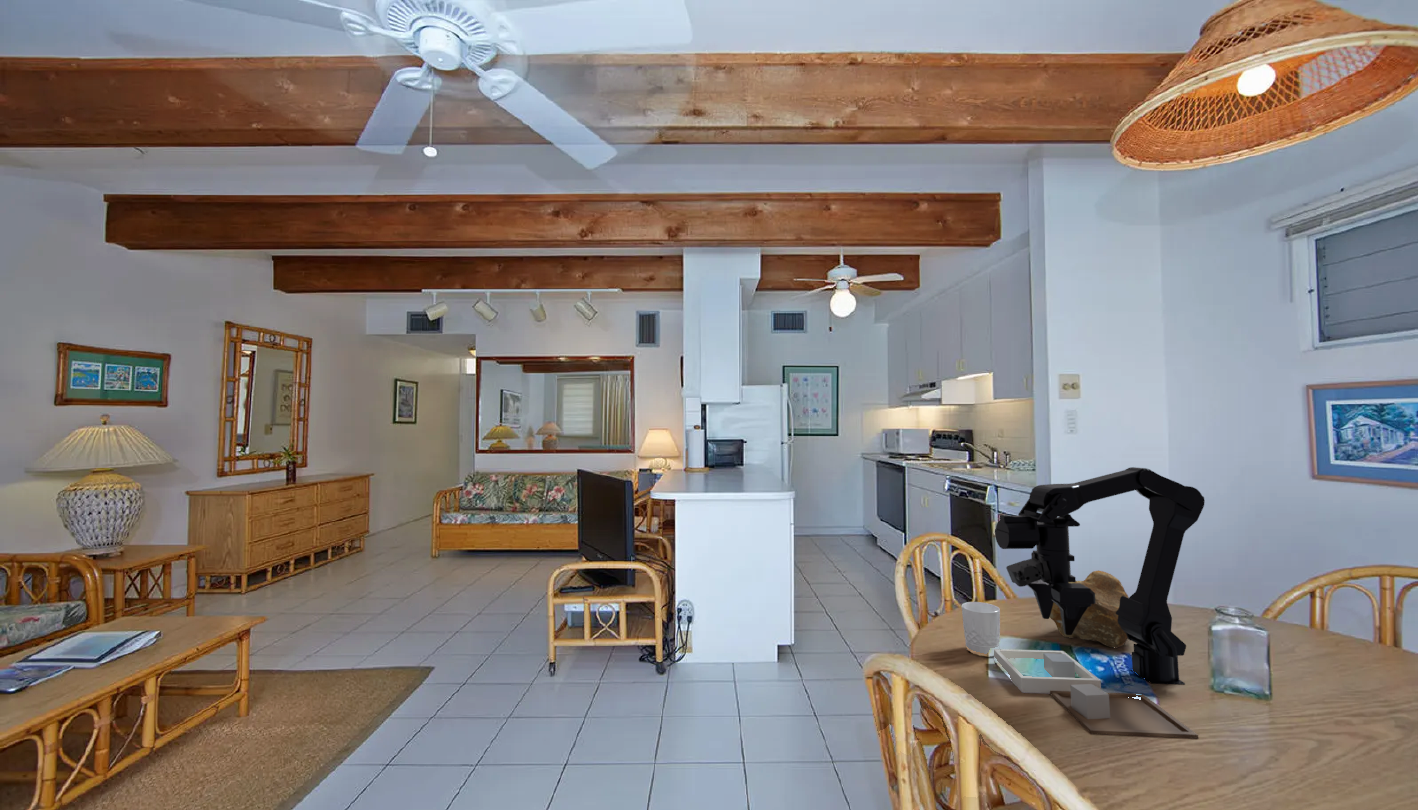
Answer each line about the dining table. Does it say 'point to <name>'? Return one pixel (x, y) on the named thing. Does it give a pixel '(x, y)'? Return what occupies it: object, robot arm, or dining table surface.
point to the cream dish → (1042, 683)
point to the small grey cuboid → (1090, 701)
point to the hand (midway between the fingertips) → (1056, 626)
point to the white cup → (981, 626)
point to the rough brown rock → (1098, 611)
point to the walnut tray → (1129, 717)
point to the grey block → (1059, 665)
